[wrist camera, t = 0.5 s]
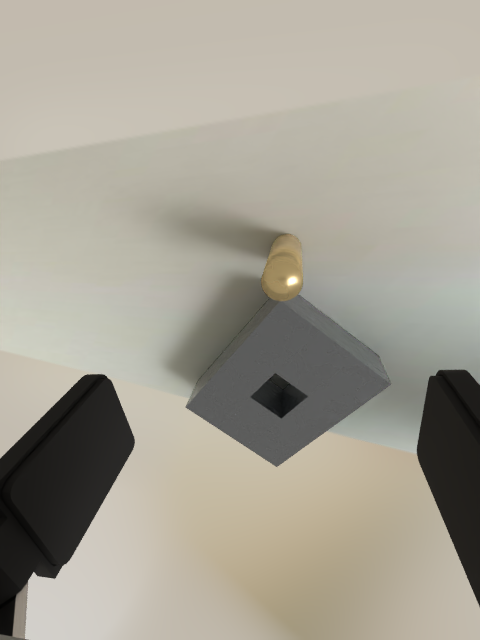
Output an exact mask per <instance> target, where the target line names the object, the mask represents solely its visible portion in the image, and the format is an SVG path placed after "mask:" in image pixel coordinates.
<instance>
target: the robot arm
mask: <svg viewBox="0 0 480 640" xmlns="http://www.w3.org/2000/svg"><path fill="white" fill-rule="evenodd" d="M134 443H135V440H134V436H133V434H132V431H131V429H130V426H129V423H128V421H127V418H126V416H125V413H124V411H123V408H122V406H121V404H120V401H119V398H118V396H117V394H116V391H115V389H114V386H113V384H112V382H111V380H110V379H108V378H107V377H106V376H105V375H103V374H92V375H85V376H83V377H82V378H81V379H80V380H79V381H78V382H77V383H76V384H75V385H74V386H73V387H72V388H71V389H70V390H69V391H68V392H67V393H66V394H65V395H64V396H63V397H62V398H61V399H60V400H59V401H58V402H57V403H56V404H55V405H54V406H53V407H52V408H51V409H50V410H49V411H48V412H47V413H46V414H45V415H44V416H43V417H42V418H41V419H40V420H39V421H38V422H37V423H36V424H35V425H34V426H33V427H32V428H31V429H30V430H29V431H28V432H27V433H26V434H25V435H24V436H23V437H22V438H21V439H20V440H19V441H18V442H17V443H16V444H15V445H14V446H12V447H11V448H10V449H9V451H7V453H6V454H5V455H3V456H2V458H1V459H0V640H26V639H25V625H26V608H27V591H28V580H29V578H30V577H31V575H32V573H33V572H35V573H36V575H37V576H41V577H48V578H56V576H57V574H58V573H59V571H60V569H61V568H62V566H63V565H64V564H66V563H67V562H68V561H69V560H70V558H71V557H72V555H73V554H74V552H75V550H76V548H77V547H78V545H79V543H80V541H81V540H82V538H83V536H84V534H85V533H86V531H87V529H88V527H89V526H90V524H91V522H92V520H93V519H94V517H95V515H96V513H97V512H98V510H99V508H100V506H101V504H102V503H103V501H104V499H105V497H106V496H107V494H108V492H109V491H110V489H111V487H112V485H113V483H114V482H115V480H116V478H117V476H118V474H119V473H120V471H121V469H122V468H123V466H124V464H125V462H126V461H127V459H128V457H129V455H130V454H131V452H132V450H133V448H134ZM417 456H418V460H419V463H420V465H421V468H422V470H423V472H424V475H425V477H426V480H427V482H428V485H429V487H430V489H431V492H432V494H433V496H434V498H435V501H436V504H437V506H438V508H439V510H440V513H441V516H442V518H443V520H444V523H445V525H446V527H447V530H448V532H449V534H450V537H451V539H452V542H453V544H454V546H455V549H456V551H457V554H458V556H459V558H460V561H461V563H462V566H463V568H464V570H465V573H466V575H467V578H468V580H469V582H470V585H471V587H472V589H473V592H474V594H475V597H476V599H477V601H478V603H479V606H480V385H479V384H478V383H477V382H476V381H475V379H474V378H473V377H472V376H471V375H470V373H469V372H467V371H466V370H439V371H438V372H437V374H436V376H430V378H429V381H428V387H427V393H426V399H425V404H424V410H423V416H422V422H421V427H420V433H419V439H418V445H417Z"/></svg>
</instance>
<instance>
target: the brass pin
mask: <svg viewBox="0 0 480 640" xmlns="http://www.w3.org/2000/svg"><path fill="white" fill-rule="evenodd" d="M261 285H262V288H263V291H264V292H265V294H266V295H267V296H269V297H270V298H271V299H273V300H277V301H287V300H290V299H292V298H294V297H296V296H297V295H298V294H299V292H300V291H301V289H302V285H303V271H302V248H301V243H300V241H299V240H298V238H296V237H295V236H293V235H291V234H283V235H281V236H279V237H277V238H276V239H275V241H274V242H273V245H272V248H271V251H270V254H269V257H268V260H267V263H266V266H265V269H264V272H263V275H262V278H261Z"/></svg>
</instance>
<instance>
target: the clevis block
mask: <svg viewBox="0 0 480 640" xmlns="http://www.w3.org/2000/svg"><path fill="white" fill-rule="evenodd" d="M275 373H276V374H277V375H279V376H280V377H282V378H283V379H284V380H286V381H287V382H289V383H290V385H288V386H287V387H286V388H285V389H284V390H283V389H281V388H280V387H278V386H277V385H275V384H274V383H273V382H271V381H270V380H268V379H270V378H271V377H272V376H273V375H274V374H275ZM389 385H391V383H390V380H389V378H388V376H387V373H386V371H385V369H384V366H383V364H382V362H381V359H380V357H379V356H378V355H377V354H376V353H374V352H373V351H372V350H370V349H369V348H368V347H366V346H365V345H364V344H362V343H361V342H360V341H359V340H357V339H356V338H355V337H353V336H352V335H351V334H349V333H348V332H347V331H345V330H344V329H343V328H342V327H340V326H339V325H338V324H336V323H335V322H334V321H332V320H331V319H330V318H329V317H327V316H326V315H325V314H323V313H322V312H321V311H319V310H318V309H317V308H315V307H314V306H313V305H312V304H310V303H309V302H308V301H306V300H305V299H304V298H302V297H301V296H300V295H297V296H296V297H294V298H292V299H290V300H287V301H277V300H273V299H271V298H269V299H268V301H267V302H266V303H265V304H264V305H263V306H262V307H261V309H260V310H259V311H258V312H257V313H256V314H255V316H254V317H253V318H252V319H251V320H250V321H249V322H248V324H247V325H246V326H245V327H244V328H243V329H242V331H241V332H240V333H239V334H238V335H237V336H236V338H235V339H234V340H233V341H232V342H231V343H230V344H229V346H228V347H227V348H226V349H225V350H224V351H223V353H222V354H221V355H220V356H219V357H218V358H217V359H216V361H215V362H214V363H213V364H212V365H211V366H210V368H209V369H208V370H207V371H206V372H205V373H204V374H203V376H202V377H201V378H200V379H199V380H198V382H197V384H196V386H195V388H194V390H193V392H192V394H191V396H190V399H189V401H188V403H187V405H186V408H187V409H189V410H191V411H192V412H194V413H195V414H197V415H198V416H200V417H201V418H203V419H204V420H206V421H207V422H209V423H211V424H212V425H214V426H215V427H217V428H218V429H220V430H221V431H223V432H224V433H226V434H227V435H229V436H230V437H232V438H234V439H235V440H236V441H238V442H240V443H241V444H243V445H244V446H246V447H247V448H249V449H250V450H252V451H253V452H255V453H256V454H258V455H259V456H261V457H262V458H264V459H266V460H267V461H269V462H270V463H272V464H273V465H275V466H276V467H277V466H279V465H280V464H282V463H283V462H284V461H286V460H287V459H288V458H290V457H291V456H293V455H294V454H295V453H297V452H298V451H299V450H301V449H302V448H304V447H305V446H306V445H308V444H309V443H310V442H312V441H313V440H315V439H316V438H317V437H319V436H320V435H322V434H323V433H324V432H326V431H327V430H329V429H330V428H331V427H333V426H334V425H335V424H337V423H338V422H340V421H341V420H342V419H344V418H345V417H346V416H348V415H349V414H351V413H352V412H353V411H355V410H356V409H358V408H359V407H360V406H362V405H363V404H364V403H366V402H367V401H369V400H370V399H371V398H373V397H374V396H375V395H377V394H378V393H380V392H381V391H382V390H384V389H385V388H386V387H388V386H389Z"/></svg>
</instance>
